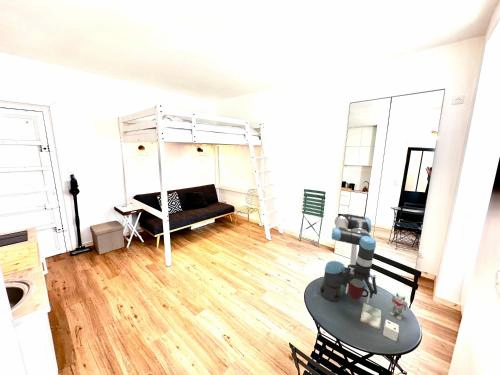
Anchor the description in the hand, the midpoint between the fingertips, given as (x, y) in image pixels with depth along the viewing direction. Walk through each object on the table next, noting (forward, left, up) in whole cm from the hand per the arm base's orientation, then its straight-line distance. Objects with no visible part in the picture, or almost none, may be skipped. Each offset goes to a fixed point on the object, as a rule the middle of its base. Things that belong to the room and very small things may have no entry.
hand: (356, 296), depth 118 cm
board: (+9, +9, -16) cm, 21 cm away
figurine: (+22, +20, -16) cm, 34 cm away
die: (+19, +2, -16) cm, 25 cm away
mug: (0, 0, -1) cm, 1 cm away
